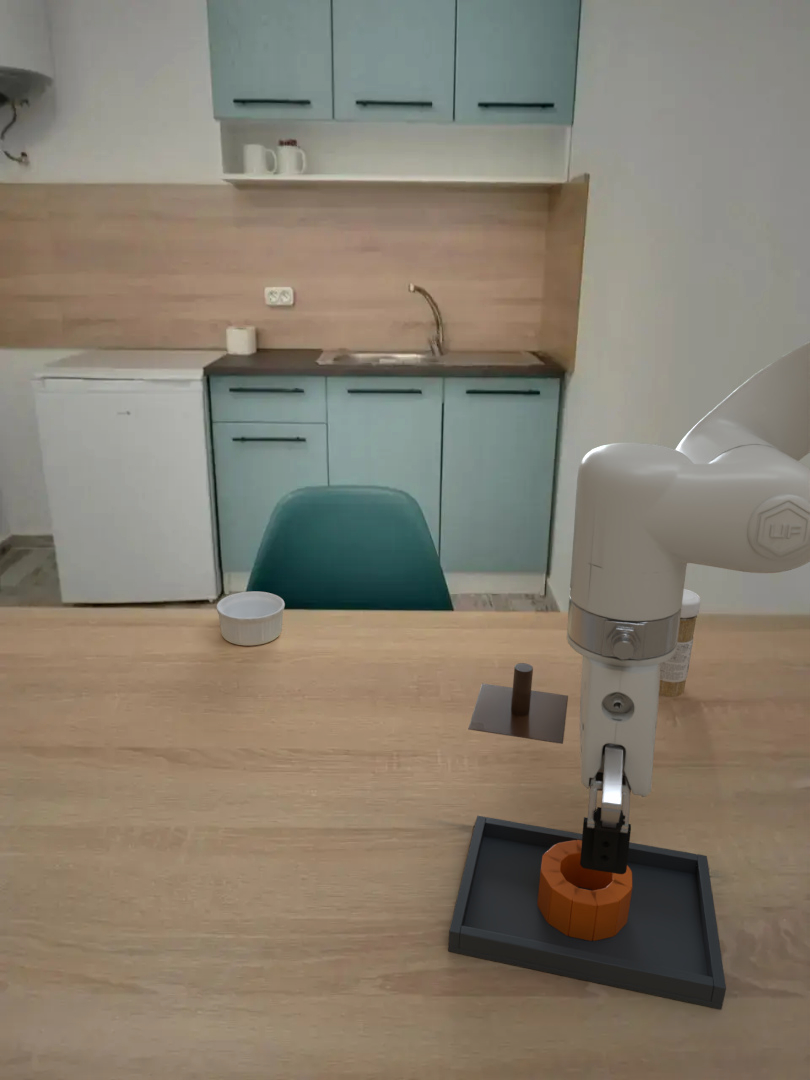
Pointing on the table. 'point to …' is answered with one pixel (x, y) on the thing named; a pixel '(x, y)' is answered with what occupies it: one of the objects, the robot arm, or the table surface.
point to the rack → (520, 709)
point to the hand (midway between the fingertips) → (603, 824)
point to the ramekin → (251, 617)
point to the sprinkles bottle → (680, 649)
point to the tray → (621, 961)
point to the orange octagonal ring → (582, 895)
